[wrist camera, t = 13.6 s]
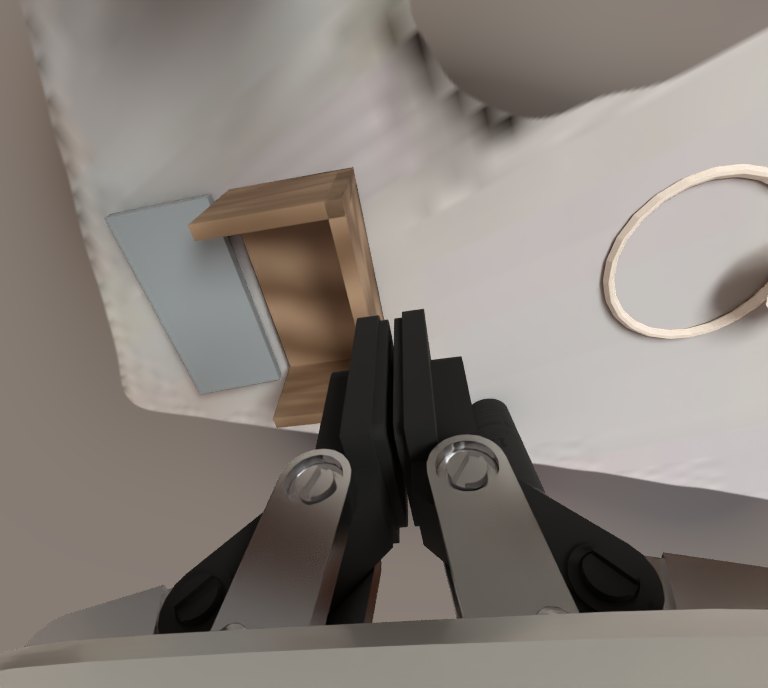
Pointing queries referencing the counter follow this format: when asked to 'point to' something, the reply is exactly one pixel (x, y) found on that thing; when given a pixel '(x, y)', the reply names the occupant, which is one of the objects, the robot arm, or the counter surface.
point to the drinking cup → (505, 439)
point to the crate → (304, 274)
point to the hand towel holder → (608, 280)
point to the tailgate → (197, 294)
